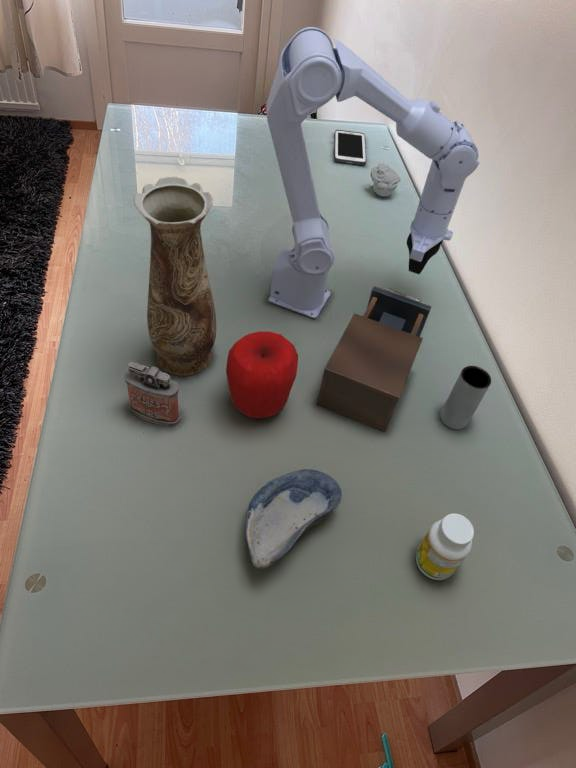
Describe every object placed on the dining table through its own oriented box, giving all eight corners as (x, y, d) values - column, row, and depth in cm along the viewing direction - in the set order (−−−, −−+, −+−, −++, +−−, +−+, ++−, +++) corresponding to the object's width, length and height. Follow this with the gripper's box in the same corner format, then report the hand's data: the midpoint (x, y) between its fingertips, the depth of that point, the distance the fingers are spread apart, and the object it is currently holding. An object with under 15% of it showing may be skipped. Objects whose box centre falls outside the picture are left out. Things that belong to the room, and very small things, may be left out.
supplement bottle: (441, 589, 76) (466, 558, 68) (406, 562, 78) (427, 529, 70) (461, 560, 79) (487, 527, 71) (427, 534, 80) (449, 500, 73)
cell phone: (334, 162, 141) (334, 158, 140) (334, 132, 151) (335, 129, 150) (365, 166, 141) (366, 162, 141) (364, 136, 151) (365, 132, 150)
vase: (227, 348, 99) (232, 189, 76) (194, 391, 92) (189, 231, 69) (173, 325, 101) (163, 164, 78) (137, 366, 94) (114, 203, 71)
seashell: (340, 586, 74) (347, 570, 71) (241, 580, 74) (243, 564, 70) (335, 481, 84) (341, 462, 81) (248, 475, 84) (250, 456, 80)
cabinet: (345, 349, 102) (354, 312, 95) (408, 373, 99) (423, 338, 93) (316, 404, 93) (324, 368, 86) (385, 432, 91) (399, 397, 84)
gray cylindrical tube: (434, 417, 94) (455, 375, 86) (449, 402, 96) (471, 360, 88) (458, 434, 92) (481, 393, 84) (473, 419, 94) (497, 377, 87)
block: (371, 342, 100) (376, 326, 97) (378, 328, 103) (383, 311, 100) (393, 351, 100) (399, 334, 97) (400, 336, 102) (406, 319, 99)
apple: (260, 368, 97) (267, 307, 86) (304, 406, 93) (317, 347, 82) (211, 400, 91) (211, 339, 81) (255, 442, 87) (261, 384, 77)
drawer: (373, 300, 109) (381, 272, 104) (426, 320, 107) (437, 291, 102) (342, 359, 99) (350, 330, 93) (401, 382, 97) (412, 354, 92)
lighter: (184, 413, 89) (182, 370, 82) (174, 430, 87) (171, 387, 79) (136, 396, 90) (129, 352, 83) (125, 413, 88) (117, 369, 81)
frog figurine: (366, 184, 136) (372, 156, 131) (396, 189, 136) (403, 161, 131) (365, 199, 132) (371, 170, 127) (395, 204, 132) (403, 176, 127)
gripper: (450, 235, 90) (426, 302, 100) (470, 190, 99) (445, 255, 109) (406, 221, 91) (387, 288, 101) (430, 178, 100) (409, 243, 110)
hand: (414, 270), depth 105 cm, fingers closed
